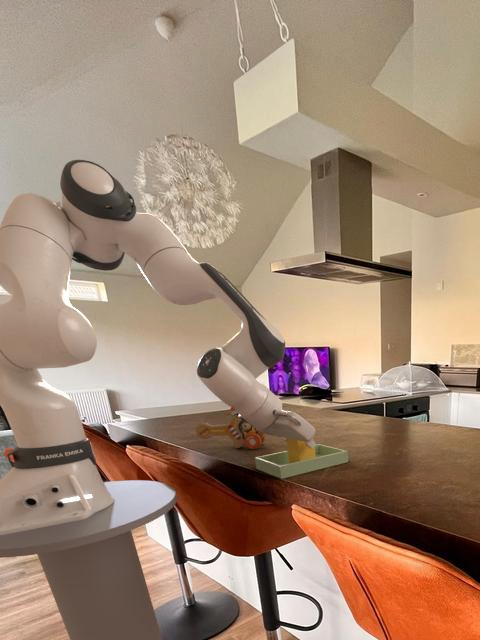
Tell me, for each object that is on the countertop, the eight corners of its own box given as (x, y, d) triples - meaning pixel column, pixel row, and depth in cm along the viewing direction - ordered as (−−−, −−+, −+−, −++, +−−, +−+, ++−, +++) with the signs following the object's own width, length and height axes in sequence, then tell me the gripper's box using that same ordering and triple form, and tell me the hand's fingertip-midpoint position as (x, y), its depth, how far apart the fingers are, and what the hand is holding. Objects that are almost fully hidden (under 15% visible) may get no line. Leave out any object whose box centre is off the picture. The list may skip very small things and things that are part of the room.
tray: (281, 478, 99) (279, 466, 98) (256, 468, 108) (254, 457, 107) (348, 462, 111) (347, 450, 110) (320, 454, 120) (319, 443, 119)
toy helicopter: (265, 449, 129) (258, 403, 124) (196, 453, 128) (186, 407, 123) (269, 443, 137) (263, 400, 132) (204, 447, 136) (196, 403, 131)
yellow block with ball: (300, 467, 106) (295, 421, 102) (289, 464, 109) (283, 420, 105) (316, 462, 109) (311, 418, 105) (304, 459, 113) (300, 417, 109)
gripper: (296, 401, 92) (334, 438, 102) (248, 396, 105) (286, 429, 115) (281, 425, 90) (321, 459, 100) (234, 417, 104) (274, 448, 114)
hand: (302, 443), depth 108 cm, fingers open, 7 cm apart
